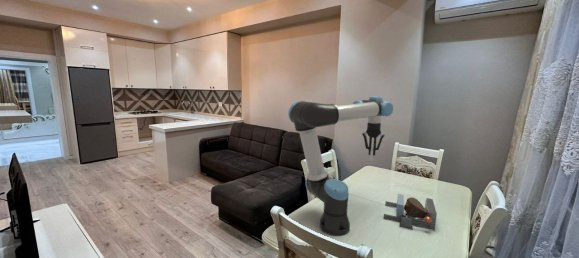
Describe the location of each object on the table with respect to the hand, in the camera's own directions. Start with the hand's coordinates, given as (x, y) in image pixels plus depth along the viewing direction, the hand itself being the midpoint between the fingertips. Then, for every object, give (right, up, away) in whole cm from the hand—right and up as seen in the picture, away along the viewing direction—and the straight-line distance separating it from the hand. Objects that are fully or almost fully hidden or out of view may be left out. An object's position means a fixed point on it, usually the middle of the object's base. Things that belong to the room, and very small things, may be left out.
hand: (371, 160), depth 144 cm
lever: (+10, -26, -24) cm, 37 cm away
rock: (+18, -30, -15) cm, 38 cm away
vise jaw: (+12, -29, -12) cm, 33 cm away
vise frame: (+14, -30, -16) cm, 37 cm away
